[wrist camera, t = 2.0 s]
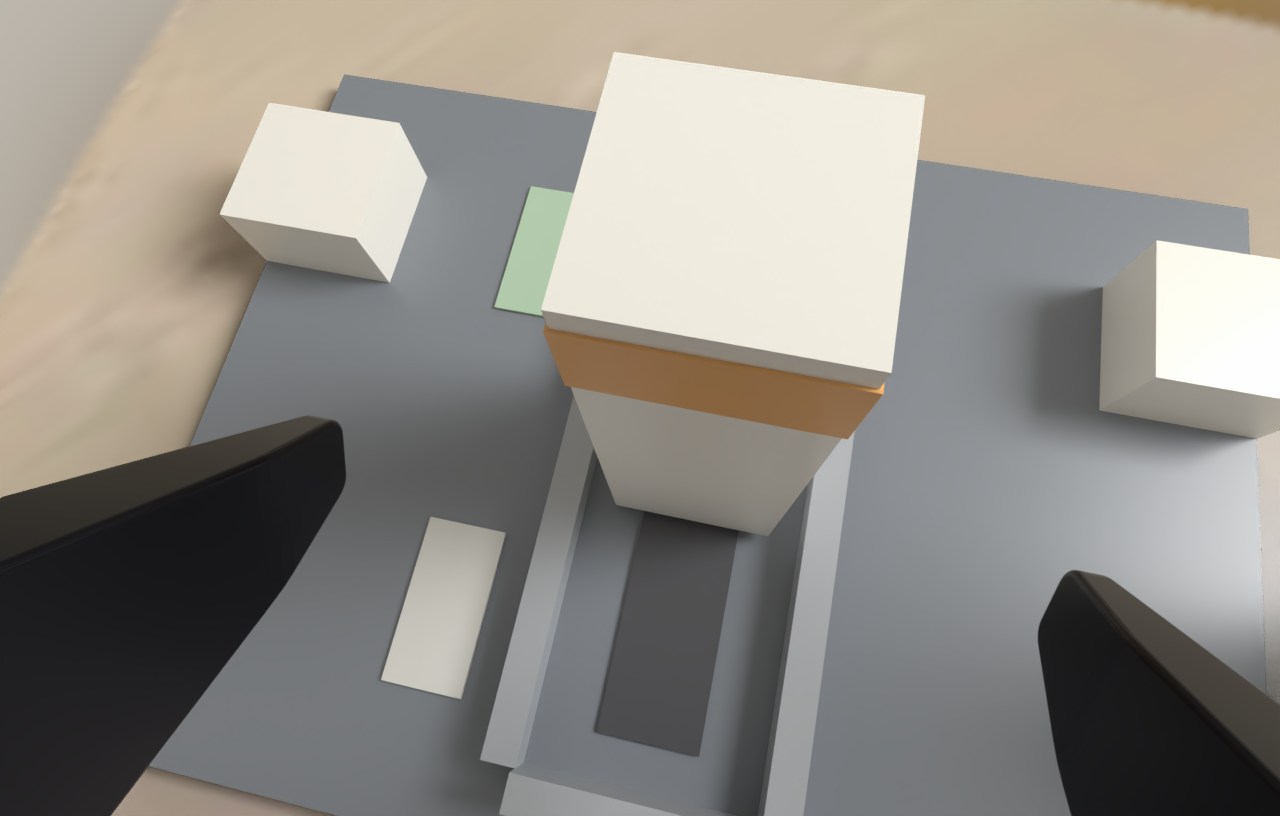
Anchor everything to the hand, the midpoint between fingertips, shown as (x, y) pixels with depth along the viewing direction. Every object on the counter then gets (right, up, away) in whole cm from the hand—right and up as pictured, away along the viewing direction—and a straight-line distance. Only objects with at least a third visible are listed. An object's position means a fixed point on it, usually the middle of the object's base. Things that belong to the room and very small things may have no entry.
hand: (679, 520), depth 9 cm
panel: (+1, 0, +11) cm, 11 cm away
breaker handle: (+1, 0, +10) cm, 10 cm away
